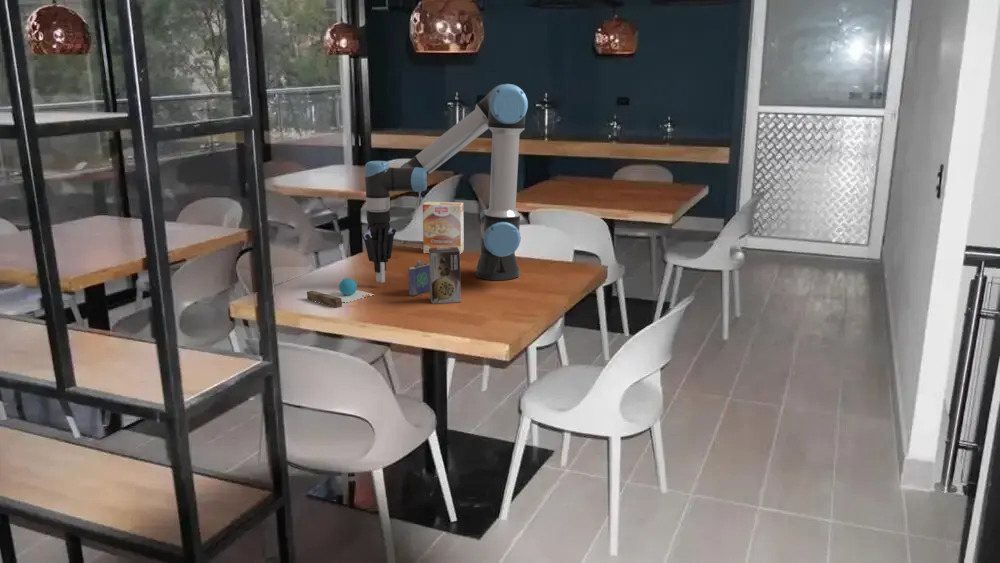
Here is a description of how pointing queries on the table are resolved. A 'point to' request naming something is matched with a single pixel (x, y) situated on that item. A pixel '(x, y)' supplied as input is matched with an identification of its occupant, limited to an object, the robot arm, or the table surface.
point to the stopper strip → (324, 298)
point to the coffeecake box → (443, 225)
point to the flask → (419, 279)
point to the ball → (348, 286)
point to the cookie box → (444, 275)
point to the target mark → (352, 297)
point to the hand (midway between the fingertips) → (380, 281)
